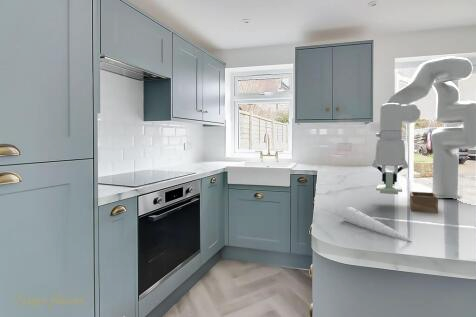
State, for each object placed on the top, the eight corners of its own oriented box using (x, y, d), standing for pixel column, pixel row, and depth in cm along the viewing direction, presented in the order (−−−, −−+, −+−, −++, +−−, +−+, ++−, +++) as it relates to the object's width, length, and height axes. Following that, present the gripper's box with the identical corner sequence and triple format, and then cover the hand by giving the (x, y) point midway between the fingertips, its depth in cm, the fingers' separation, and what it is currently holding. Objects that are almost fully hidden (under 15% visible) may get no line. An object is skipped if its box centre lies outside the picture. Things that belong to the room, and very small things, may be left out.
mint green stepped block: (377, 189, 126) (378, 170, 126) (401, 191, 122) (402, 171, 122) (376, 193, 116) (376, 172, 115) (402, 195, 112) (402, 173, 111)
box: (409, 207, 118) (409, 191, 118) (434, 208, 115) (434, 192, 114) (410, 212, 108) (411, 195, 108) (437, 214, 105) (438, 197, 105)
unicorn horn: (399, 245, 74) (400, 225, 74) (340, 222, 97) (340, 206, 97) (415, 243, 76) (415, 224, 76) (353, 221, 98) (353, 206, 98)
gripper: (367, 136, 118) (366, 183, 119) (415, 135, 111) (413, 186, 112) (368, 136, 125) (367, 181, 126) (414, 136, 118) (412, 184, 118)
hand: (389, 183), depth 119 cm, fingers closed on mint green stepped block
